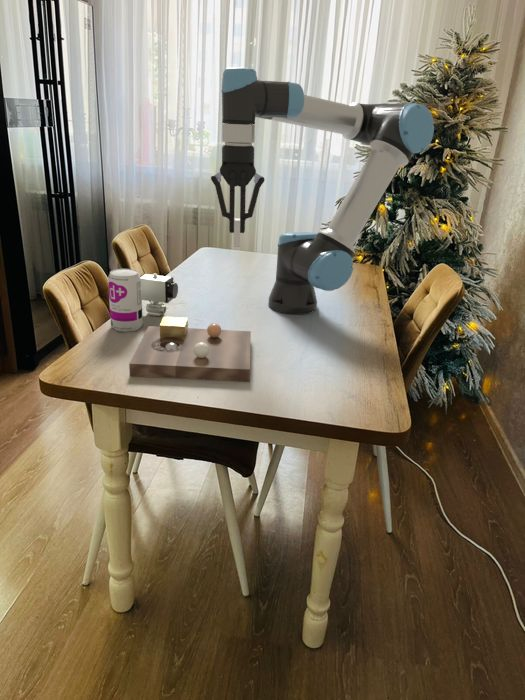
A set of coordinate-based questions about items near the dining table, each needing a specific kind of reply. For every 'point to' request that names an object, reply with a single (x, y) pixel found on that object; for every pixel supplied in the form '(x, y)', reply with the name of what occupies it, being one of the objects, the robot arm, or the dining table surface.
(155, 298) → the pneumatic valve
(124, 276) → the supplement can
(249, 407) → the dining table surface
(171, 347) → the steel ball
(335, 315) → the dining table surface
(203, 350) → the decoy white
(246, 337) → the board
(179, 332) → the block
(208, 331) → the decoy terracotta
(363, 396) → the dining table surface
